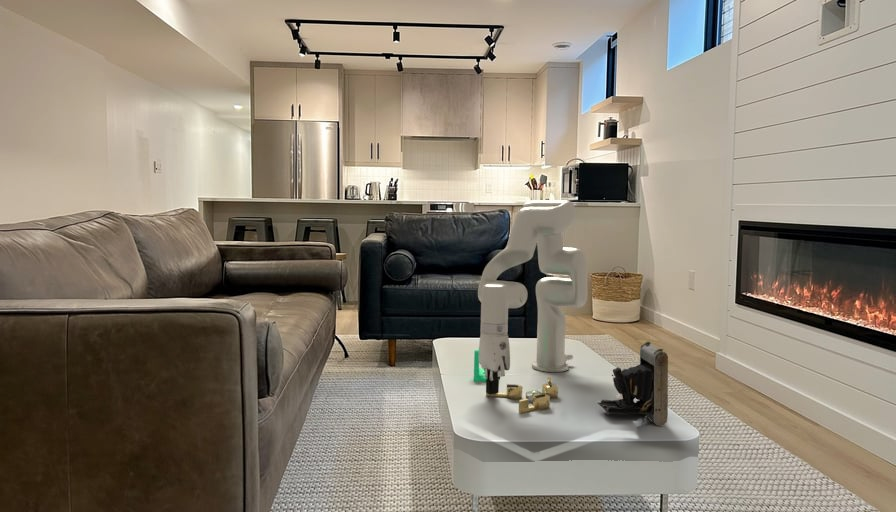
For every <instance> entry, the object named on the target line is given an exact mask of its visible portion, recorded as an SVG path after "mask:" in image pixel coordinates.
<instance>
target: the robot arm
mask: <svg viewBox="0 0 896 512" xmlns="http://www.w3.org/2000/svg"><path fill="white" fill-rule="evenodd" d="M576 214H577V211H576V207H575V205H574V203H573V202H572V201H570V200H563V199H562V200H561V199H560V200H555V199H553V200H549V199H543V200H541V199H538V200H537V199H535V200H529V201H526V202H525V203H524V204H523V205H522V208H520V209H519V210H518V211H517V213H516V214H515V217H514V221H513V224H512V227H511V230H510V233H509V237H508V241H507V244H506V245H505V248H504V249H502V250H501V251H499V253H497V254H496V255H495V256H494V257H493V258H491V260H490V261H489V262H488V263H487V264H486V265H485V267H484V269H483V271H482V274H481V278H480V281H479V285H478V289H477V297H478V301H480V303H481V304H480V336H479V344H478V345H479V346H478V349H479V365H480V366H481V367H480V368H483V369H484V371H485V378H486V382H485V394H486V393H488V394H489V395H490V394H497V393H500V392H499V388H500V385H499V384H500V380H501V378H502V377H505V375H506V371H509V370H510V369H511V348H510V339H509V334H508V328H509V327H508V325H509V324H508V323H509V309H518V308H521V307H522V306H524V305H525V304H526V302H527V300H528V290H527V288H526V286H525V285H524V284H523V283H521V282H517V281H516V282H515V281H507V280H497V279H498V277H499V276H500V275H501V274H502V273H504V272H505V271H507V270H509V269H510V268H513V267H516V266H519V265H521V264H524V263H526V262H528V261H530V260H532V258H533V257H534V254H535V250H536V246H537V260H538V261H537V262H538V268H539V271H540V273H543V274H545V275H551V276H547V277H543V278H540V279H539V280H538V281H537V282H536V285H535V297H536V302H537V303H536V305H537V327H536V328H537V329H536V335H537V336H536V360H535V361H532V363H531V367H532V368H533V370H537V371H540V372H541V371H542V372H548V373H563V372H565V371H567V370H569V366H570V365H569V364H568V363H567V361H570V360H571V361H572V360H573V358H574V355H573V354H572V353H570V354H565V350H566V349H565V346H566V316H565V313H564V312H563V310H562V308H561V307H567V308H568V307H570V308H582V307H583V306H585V305H586V303H587V300H588V269H587V268H588V267H587V264H588V263H587V257H586V255H585V253H584V251H583V250H582V249H580V248H576V247H565V246H564V241H563V240H564V239H563V232H565V231H566V230H568V229H569V228H571V226H572V225H573V224H574V222H575V220H576V218H577V217H576ZM554 276H555V277H554ZM556 276H565V278H564V277H556ZM566 277H567V278H566ZM568 277H569V278H568Z"/></svg>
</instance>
